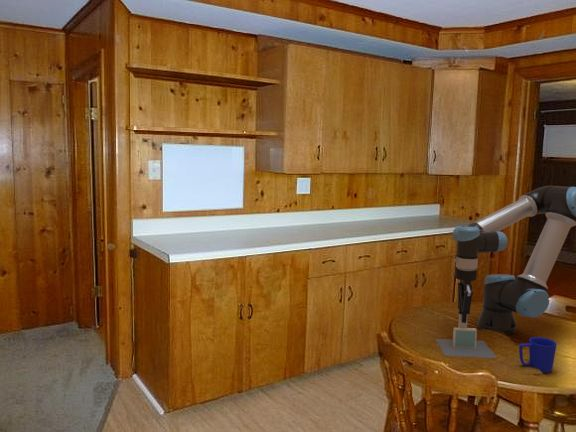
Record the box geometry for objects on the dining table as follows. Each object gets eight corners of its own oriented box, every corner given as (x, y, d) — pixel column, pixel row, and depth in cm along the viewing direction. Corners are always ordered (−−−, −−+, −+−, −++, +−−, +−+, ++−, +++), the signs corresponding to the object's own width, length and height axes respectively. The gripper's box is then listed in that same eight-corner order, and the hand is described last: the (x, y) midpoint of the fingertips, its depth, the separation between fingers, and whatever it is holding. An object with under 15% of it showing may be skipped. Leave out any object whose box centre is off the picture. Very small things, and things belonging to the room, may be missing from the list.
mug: (511, 365, 168) (513, 337, 167) (544, 364, 169) (546, 336, 168) (525, 375, 160) (527, 346, 159) (559, 374, 161) (562, 345, 160)
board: (483, 344, 186) (483, 340, 186) (496, 361, 170) (497, 357, 170) (435, 342, 188) (435, 338, 188) (444, 359, 172) (444, 355, 172)
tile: (474, 346, 180) (475, 328, 179) (475, 348, 179) (477, 330, 178) (452, 345, 181) (453, 327, 180) (453, 347, 179) (454, 329, 178)
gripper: (451, 264, 186) (448, 323, 188) (460, 272, 173) (456, 335, 176) (472, 265, 185) (468, 324, 188) (481, 273, 172) (477, 336, 175)
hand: (462, 329), depth 182 cm, fingers closed
